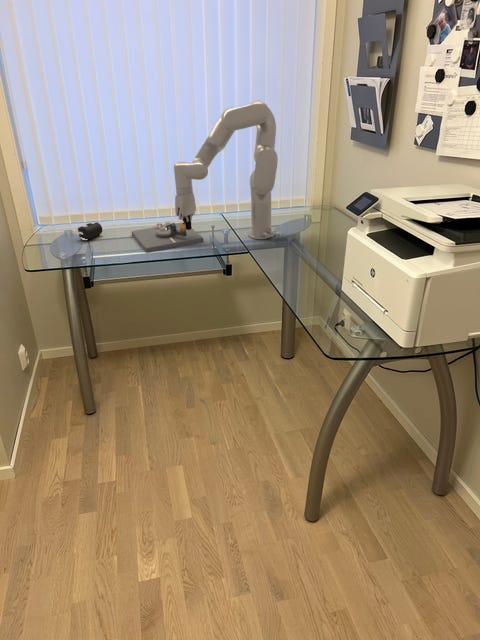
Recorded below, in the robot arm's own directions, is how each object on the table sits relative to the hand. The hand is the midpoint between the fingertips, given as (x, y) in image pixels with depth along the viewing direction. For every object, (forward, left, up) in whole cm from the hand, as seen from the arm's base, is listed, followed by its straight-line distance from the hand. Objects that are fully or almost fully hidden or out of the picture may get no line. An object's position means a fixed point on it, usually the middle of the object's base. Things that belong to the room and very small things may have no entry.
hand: (188, 229), depth 224 cm
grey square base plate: (+9, +9, -6) cm, 13 cm away
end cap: (+29, +42, -6) cm, 51 cm away
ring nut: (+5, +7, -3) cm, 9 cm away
